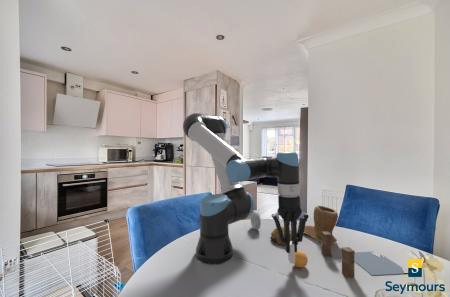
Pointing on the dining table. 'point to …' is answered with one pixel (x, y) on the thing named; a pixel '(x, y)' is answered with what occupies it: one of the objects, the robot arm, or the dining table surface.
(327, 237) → the gate post left
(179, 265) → the dining table surface
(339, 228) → the dining table surface
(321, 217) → the brown boot
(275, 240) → the bread roll
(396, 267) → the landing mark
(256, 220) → the donut
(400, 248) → the dining table surface
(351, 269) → the gate post right
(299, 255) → the ball
